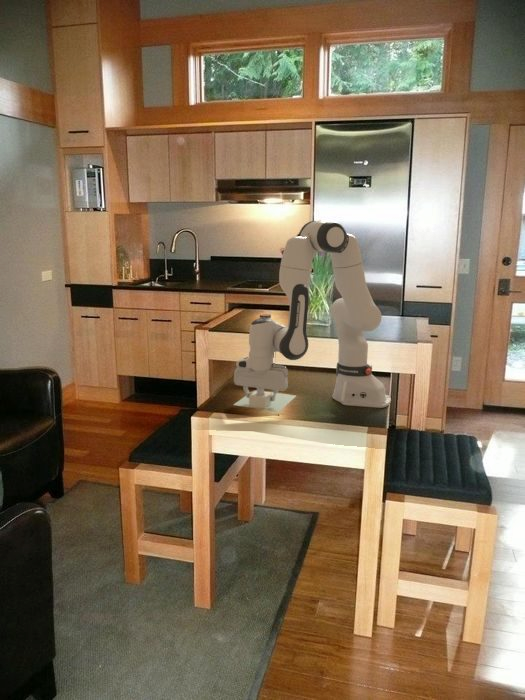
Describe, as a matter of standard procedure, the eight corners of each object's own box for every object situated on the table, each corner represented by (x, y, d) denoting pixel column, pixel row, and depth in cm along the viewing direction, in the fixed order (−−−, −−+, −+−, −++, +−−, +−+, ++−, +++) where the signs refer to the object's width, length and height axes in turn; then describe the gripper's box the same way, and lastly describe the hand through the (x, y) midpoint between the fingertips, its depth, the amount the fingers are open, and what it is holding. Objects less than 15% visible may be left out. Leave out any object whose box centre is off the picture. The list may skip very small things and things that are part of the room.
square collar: (271, 403, 206) (271, 392, 205) (265, 408, 200) (265, 397, 199) (255, 400, 208) (255, 390, 207) (249, 405, 202) (249, 395, 201)
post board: (296, 399, 215) (297, 373, 212) (278, 415, 197) (279, 387, 194) (253, 393, 221) (254, 368, 219) (233, 408, 203) (233, 381, 201)
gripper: (291, 363, 199) (290, 400, 202) (239, 357, 207) (239, 393, 210) (285, 368, 194) (284, 405, 197) (232, 361, 201) (232, 398, 204)
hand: (260, 399), depth 203 cm, fingers open, 8 cm apart
